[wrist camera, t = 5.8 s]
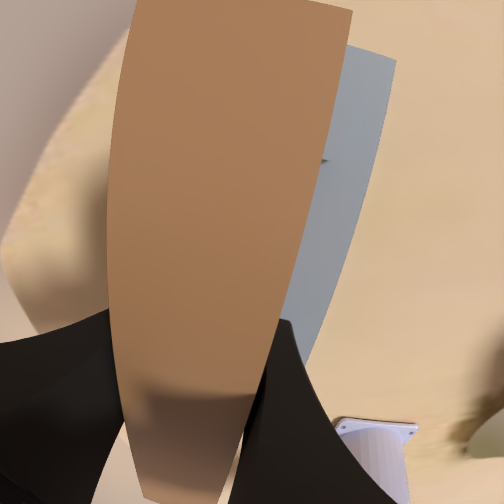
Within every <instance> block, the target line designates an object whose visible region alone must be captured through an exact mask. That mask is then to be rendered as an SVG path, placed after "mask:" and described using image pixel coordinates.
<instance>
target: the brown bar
mask: <svg viewBox="0 0 504 504" xmlns="http://www.w3.org/2000/svg"><path fill="white" fill-rule="evenodd" d="M352 13H353V11H352V10H348V9H345V8H341V7H336V6H332V5H328V4H323V3H319V2H314V1H308V0H137V4H136V7H135V12H134V15H133V19H132V23H131V27H130V31H129V35H128V40H127V44H126V49H125V54H124V59H123V64H122V69H121V74H120V80H119V86H118V92H117V99H116V106H115V113H114V121H113V129H112V138H111V149H110V160H109V174H108V192H107V232H106V240H107V281H108V299H109V313H110V324H111V335H112V344H113V352H114V360H115V368H116V375H117V381H118V388H119V394H120V400H121V405H122V411H123V416H124V421H125V426H126V430H127V435H128V440H129V444H130V448H131V452H132V456H133V460H134V464H135V468H136V472H137V475H138V479H139V483H140V486H141V489H142V493H143V496H144V498H146V499H149V500H151V501H154V502H157V503H160V504H217V503H218V500H219V497H220V495H221V492H222V489H223V487H224V484H225V481H226V479H227V476H228V473H229V470H230V468H231V465H232V462H233V459H234V457H235V454H236V451H237V448H238V445H239V442H240V439H241V437H242V434H243V431H244V428H245V425H246V422H247V419H248V416H249V413H250V410H251V407H252V404H253V401H254V398H255V395H256V392H257V389H258V386H259V383H260V380H261V376H262V373H263V370H264V367H265V364H266V361H267V357H268V354H269V351H270V348H271V345H272V341H273V338H274V335H275V331H276V328H277V325H278V321H279V318H280V315H281V311H282V308H283V304H284V301H285V298H286V294H287V291H288V287H289V284H290V280H291V276H292V273H293V269H294V266H295V262H296V258H297V255H298V251H299V247H300V244H301V240H302V236H303V233H304V229H305V225H306V221H307V217H308V213H309V210H310V206H311V202H312V198H313V194H314V190H315V186H316V182H317V178H318V174H319V170H320V165H321V161H322V157H323V153H324V149H325V144H326V140H327V136H328V131H329V127H330V122H331V118H332V113H333V109H334V104H335V100H336V95H337V90H338V85H339V81H340V76H341V71H342V66H343V61H344V56H345V51H346V45H347V40H348V35H349V29H350V24H351V18H352Z"/></svg>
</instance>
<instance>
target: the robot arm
mask: <svg viewBox="0 0 504 504" xmlns="http://www.w3.org/2000/svg"><path fill="white" fill-rule="evenodd" d="M123 423H124V416H123V411H122V405H121V400H120V394H119V388H118V381H117V375H116V368H115V360H114V352H113V344H112V335H111V324H110V313H109V308H108V309H106V310H104V311H102V312H100V313H97V314H95V315H93V316H91V317H88V318H86V319H84V320H81V321H79V322H77V323H74V324H72V325H69V326H66V327H63V328H60V329H57V330H54V331H51V332H48V333H45V334H41V335H37V336H33V337H29V338H24V339H20V340H16V341H11V342H5V343H0V504H91V502H92V498H93V495H94V492H95V489H96V487H97V484H98V481H99V478H100V476H101V473H102V470H103V468H104V466H105V463H106V461H107V458H108V456H109V453H110V451H111V448H112V446H113V444H114V442H115V440H116V438H117V435H118V433H119V431H120V429H121V427H122V425H123ZM418 429H419V426H418V424H406V423H392V422H380V421H370V420H361V419H353V418H343V419H341V420H340V421H339V423H338V424H337V425H336V427H335V428H334V427H333V425H332V423H331V422H330V420H329V418H328V416H327V415H326V413H325V411H324V409H323V407H322V405H321V403H320V401H319V399H318V397H317V395H316V393H315V391H314V389H313V387H312V384H311V382H310V380H309V377H308V375H307V372H306V370H305V367H304V364H303V362H302V359H301V356H300V353H299V350H298V347H297V344H296V340H295V336H294V332H293V328H292V324H291V322H290V321H289V320H285V319H281V318H279V321H278V325H277V328H276V331H275V335H274V338H273V341H272V345H271V348H270V351H269V354H268V357H267V361H266V364H265V367H264V370H263V373H262V376H261V380H260V383H259V386H258V389H257V392H256V395H255V398H254V401H253V404H252V407H251V410H250V413H249V416H248V419H247V422H246V425H245V428H244V433H243V440H242V447H241V453H240V459H239V464H238V467H237V471H236V475H235V479H234V483H233V487H232V490H231V494H230V498H229V501H228V504H411V503H410V494H409V485H408V478H407V470H406V463H405V457H404V450H403V446H404V445H405V444H406V443H407V442H408V441H409V440H410V438H411V437H412V436H413V435H414V434H415V433H416V432H417V431H418Z"/></svg>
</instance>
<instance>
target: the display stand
mask: <svg viewBox="0 0 504 504" xmlns="http://www.w3.org/2000/svg"><path fill="white" fill-rule="evenodd" d="M395 65H396V60H394V59H391V58H388V57H385V56H382V55H379V54H376V53H373V52H370V51H367V50H363V49H360V48H356V47H353V46H349V45H346V51H345V56H344V61H343V66H342V71H341V76H340V81H339V85H338V90H337V95H336V100H335V104H334V109H333V113H332V118H331V122H330V127H329V131H328V136H327V140H326V144H325V149H324V153H323V157H322V161H321V165H320V170H319V174H318V178H317V182H316V186H315V190H314V194H313V198H312V202H311V206H310V210H309V213H308V217H307V221H306V225H305V229H304V233H303V236H302V240H301V244H300V247H299V251H298V255H297V258H296V262H295V266H294V269H293V273H292V276H291V280H290V284H289V287H288V291H287V294H286V298H285V301H284V304H283V308H282V311H281V315H280V318H281V319H285V320H289V321H290V322H291V324H292V328H293V332H294V336H295V340H296V344H297V347H298V350H299V353H300V356H301V359H302V362H303V364H304V367H305V365H306V362H307V360H308V358H309V355H310V353H311V350H312V348H313V345H314V343H315V340H316V338H317V335H318V333H319V330H320V328H321V325H322V323H323V320H324V317H325V315H326V312H327V309H328V307H329V304H330V301H331V299H332V296H333V293H334V290H335V287H336V285H337V282H338V279H339V276H340V273H341V270H342V267H343V264H344V261H345V258H346V255H347V252H348V249H349V246H350V243H351V240H352V237H353V234H354V231H355V227H356V224H357V221H358V218H359V214H360V211H361V208H362V204H363V201H364V197H365V194H366V190H367V187H368V183H369V179H370V176H371V172H372V168H373V164H374V161H375V157H376V153H377V149H378V145H379V141H380V137H381V132H382V128H383V124H384V119H385V115H386V110H387V106H388V101H389V96H390V91H391V86H392V81H393V76H394V70H395Z"/></svg>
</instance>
